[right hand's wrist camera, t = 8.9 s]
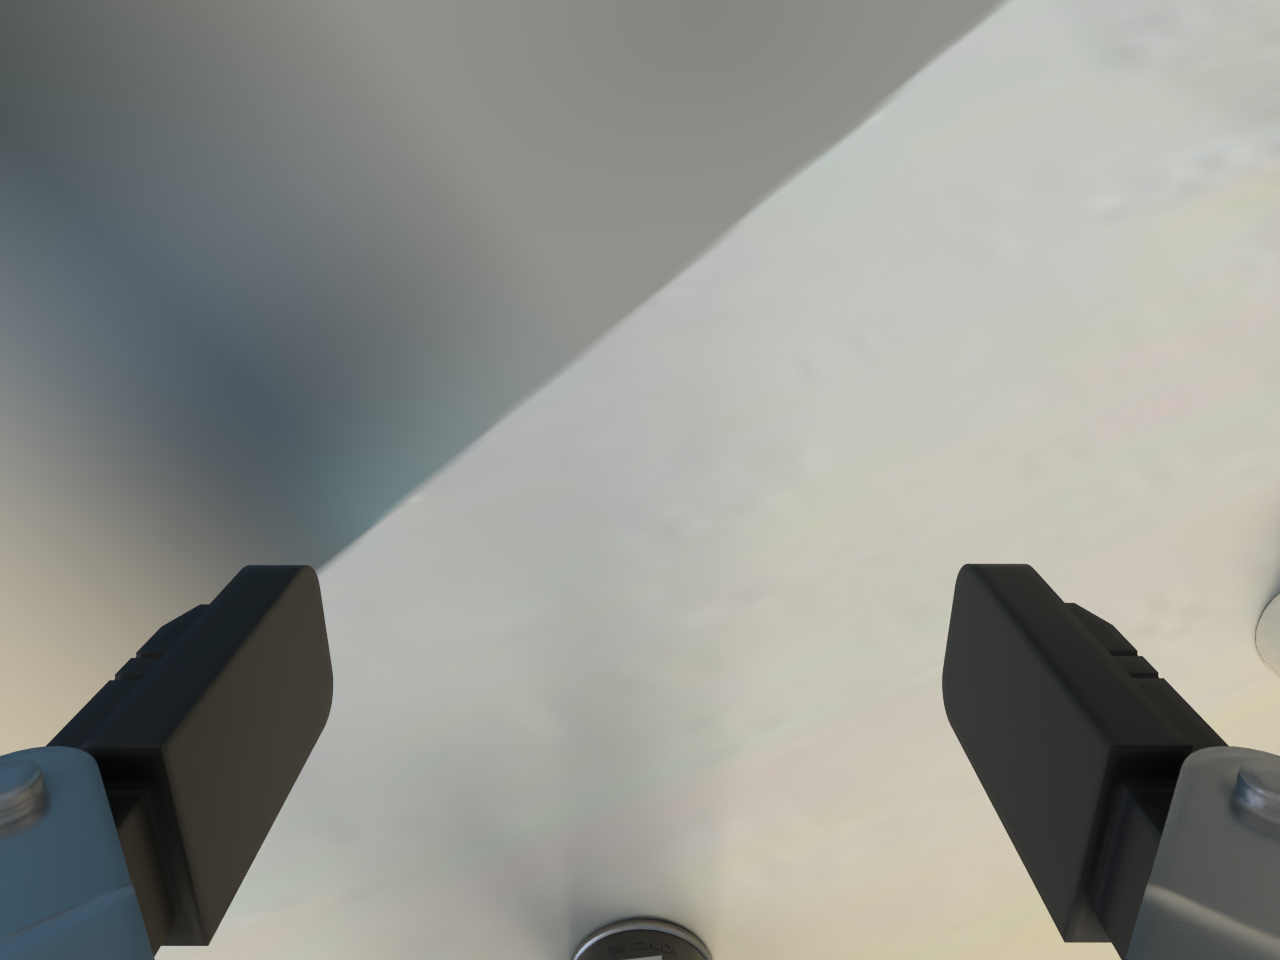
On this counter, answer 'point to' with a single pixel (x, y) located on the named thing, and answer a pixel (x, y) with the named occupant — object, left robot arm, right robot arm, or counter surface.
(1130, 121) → the counter surface
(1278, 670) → the bottle
